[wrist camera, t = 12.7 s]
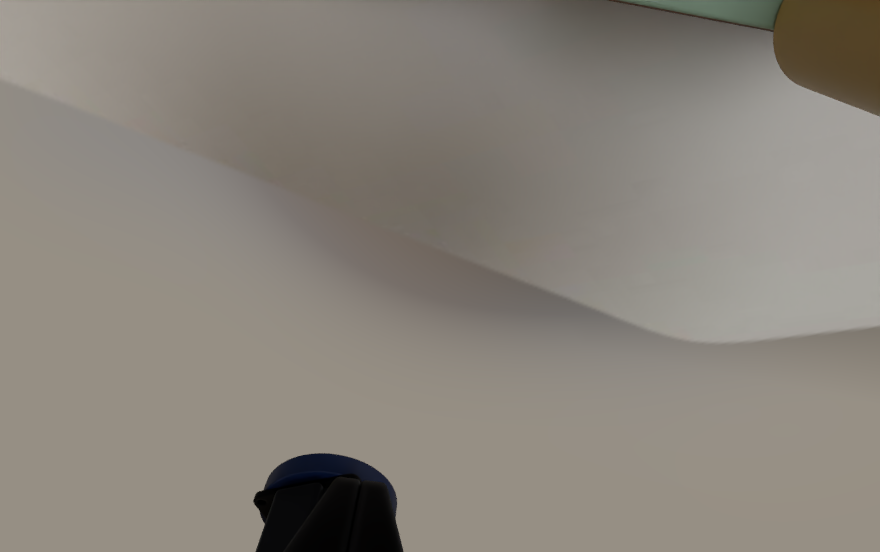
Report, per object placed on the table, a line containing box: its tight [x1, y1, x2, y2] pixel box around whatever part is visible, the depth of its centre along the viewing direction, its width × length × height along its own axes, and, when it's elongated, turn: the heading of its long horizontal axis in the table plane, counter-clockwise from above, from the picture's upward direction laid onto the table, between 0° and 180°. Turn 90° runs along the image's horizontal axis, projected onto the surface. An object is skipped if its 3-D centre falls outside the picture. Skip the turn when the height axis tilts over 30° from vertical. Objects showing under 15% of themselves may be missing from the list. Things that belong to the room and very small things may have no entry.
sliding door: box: [618, 0, 880, 116], centre depth 11 cm, size 2×8×11 cm, turn 81°
